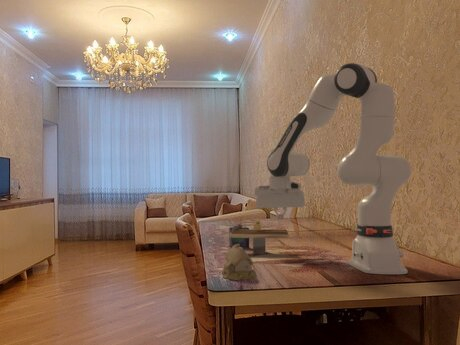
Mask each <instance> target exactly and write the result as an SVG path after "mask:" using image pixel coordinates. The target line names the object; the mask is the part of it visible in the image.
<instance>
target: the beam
mask: <svg viewBox="0 0 460 345" xmlns="http://www.w3.org/2000/svg"><path fill="white" fill-rule="evenodd" d="M231 227H232V231H231V233H230V238H249V239H252V248H253V249H252V253H253V255H258V254H259V255H266V239H289V238H290V234H289V232H288V229H261V231H254V228H253V229H250V228H249V229H238V225H232V226H231Z"/></svg>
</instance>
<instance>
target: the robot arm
mask: <svg viewBox="0 0 460 345" xmlns="http://www.w3.org/2000/svg"><path fill="white" fill-rule="evenodd" d="M345 96H349V97H352V98H355V99H359V100H360V103H361V112H360V113H361V115H360V124H359V125H360V126H359V133H358V138H357V141H356V143H355V145H354V146H353V148H352V150H351V151H350V152H348V154H347V155H345V156H344V157H343V158H341V160H340V161H339V163H338V165H337V176H338V178H339V180H340V181H341V182H342V183H343V184H346V185H350V186H353V187H354V186H355V187H357V186H358V187H366V186H367V187H370V186H371V187H372V191H371V193H370V194H368V195H367V196H365V197H363V198H361V200H359V202H358V204H357V224H356V234H357V235H356V237H355V238H354V239H353V240H352V244H351V246H352V249H351V259H350V260H347V262H346V263H347V265H349V266H350V267H353V268H355V269H356V270H359V271H360V272H362V273H365V274H374V275H406V274H408V269H407V268H406V266H405V265H404V263H403V262H402V261H400V260H401V259H404V250H399V249H400V247H399V245H397V244H396V241H395V240H394V238H393V237H394V229H393V225H392V218H391V217H392V205H393V200H394V198H395V195H396V194H397V193H398V191H399V189H401V187H402V186H404V185H405V184H406V183H407V182H408V181H409V179H410V178H411V174H412V167H411V164H410V162H409V161H408V159H407V158H405V157H403V156H397V155H392V154H386V155H385V154H380V155H379V154H377V152H378V150H379V148H381V147H382V146H384V145H386V144H389V143H390V141H392V139H393V137H394V128H395V127H394V126H395V112H396V105H395V104H396V103H395V94H394V89H393V87H391V86H390V85H389V84H386V83H383V82H379V83H378V78H377V75H376V73H375V72H374V70H373V69H371V68H370V67H367V66H365V65H363V64H359V63H355V62H351V63H346V64H343V65H341V66H340V67H339V68H338V69H337V70H336V72H335V74H330V73H329V74H324V75H322V76H320V77H319V79H318V80H317V82H316V83H315V85H314V86H313V89H312V90H311V92H310V94H309V97H308V99H307V101H306V102H305V105H304V106H303V108H302V109H301V110H300V111H299V112H298V113H297V114H296V115H295V116H294V117H292V120H291V121H290V122H289V124H288V126H287V127H286V129H285V131H284V132H283V135H281V138H280V140H279V141H278V143H277V145H276V146H273V147H272V148H271V149H270V151H269V156H268V157H267V160H266V166H267V169H268V171H269V177H268V185H258V186H256V187H255V188H254V196H256V198H255V207H256V208H257V209H259V208H260V209H261V208H264V209H265V208H267V209H268V208H271V209H272V208H273V210H274V212H275V214H276V220H277V219H278V220H281V219H282V220H283V219H285V214H286V212H287V208H304V207H305V206H306V200H305V193H304V192H303V190H301V189H302V184H301V183H298V182H295V181H291V177H301V176H305V175H306V174H307V173H308V171H309V169H310V160H309V157H308V156H307V155H306V154H305V153H302V152H298V151H295V150H294V148H295V146H296V145H297V143H298V141H299V140H300V138H301V137H302V136H303V135H304V134H307V132H310V131H312V130H315V129H319V128H322V127H324V126H326V125H327V124H328V123H330V121H331V120H332V118H333V116H334V114H335V112H336V111H337V110H336V109H337V107H338V105H339V103H340V101H341V100H342V98H344V97H345ZM278 208H282V210H283V212H282V213H281V214H280V213H278Z"/></svg>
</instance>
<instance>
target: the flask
mask: <svg viewBox="0 0 460 345" xmlns="http://www.w3.org/2000/svg"><path fill="white" fill-rule="evenodd" d="M241 224H242V223H241V222H239V223H237V224H236V226H238V229H250V228H249V227H247V226H245V225H244V226H243V225H241ZM228 228H229V229H228V230H229V232H228V235H229V237H228V239H229V244H228V245H229V248H232V247H233V245H236V244H240V247H242V248H243V249H249V248H250V238H230V233H231V231H232V226H229V227H228Z"/></svg>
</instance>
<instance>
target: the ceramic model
mask: <svg viewBox="0 0 460 345" xmlns="http://www.w3.org/2000/svg"><path fill="white" fill-rule="evenodd" d="M224 259H225V261H226V262H225V263H224V266H223V269H222V270H221V273H222V277H223V278H224V279H228V280H233V281H241V280H246V279H247V280H248V279H255V278H256V276H257V271H256V270H255V269H254V268H253V267H252V265H254V261H253V260H252V258H251V257H250V255H249V254H248V253H247V252H246V250H245V248H242V247H240V244H236V245H233V247H230V248H229V249H228V251H227V252H226V254H225V256H224ZM252 268H253V269H252Z"/></svg>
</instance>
